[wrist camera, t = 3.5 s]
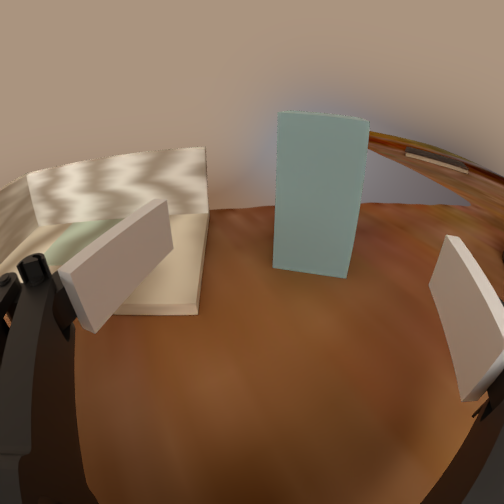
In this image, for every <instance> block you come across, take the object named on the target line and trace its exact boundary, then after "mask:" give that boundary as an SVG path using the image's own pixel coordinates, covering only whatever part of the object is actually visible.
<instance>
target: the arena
mask: <svg viewBox="0 0 504 504" xmlns="http://www.w3.org/2000/svg"><path fill="white" fill-rule="evenodd" d="M207 185H208V184H207V164H206V147H193V148H180V149H168V150H158V151H148V152H139V153H131V154H124V155H117V156H110V157H104V158H98V159H92V160H86V161H81V162H76V163H71V164H66V165H61V166H56V167H52V168H47V169H43V170H39V171H35V172H30V173H26V174H24V175H23V176H21V177H19V178H18V179H15V180H14V181H12V182H10V183H9V184H7V185H5V186H4V187H2V188H1V189H0V277H1V276H2V275H3V274H5V273H10V272H15V273H16V274H17V276H18V278H19V281H20V283H23V281H22V279H21V276H20V274H19V271H18V269H17V267H16V266H17V264H18V263H19V262H20V261H21V260H22V259H23V258H25V257H27V256H29V255H31V254H34V253H43V254H44V255H45V258H46V261H47V264H48V266H49V269H50V272H51V274H53V273H54V272H56V271H57V269H59V268H60V267H61V266H62V265H63V264H65V263H66V262H67V261H68V260H70V259H71V258H72V257H73V256H75V255H76V254H77V253H79V252H80V251H81V250H82V249H84V248H85V247H86V246H88V245H89V244H90V243H92V242H93V241H94V240H96V239H97V238H98V237H100V236H101V235H102V234H104V233H105V232H106V231H108V230H109V229H111V228H112V227H113V226H115V225H116V224H118V223H119V222H120V221H122V220H123V219H125V218H126V217H128V216H129V215H131V214H132V213H133V212H135V211H136V210H138V209H139V208H141V207H142V206H144V205H145V204H147V203H148V202H150V201H151V200H153V199H167V203H168V211H169V219H170V226H171V234H172V241H173V247H174V249H173V250H172V251H171V252H170V253H169V254H168V255H167V256H166V257H165V258H164V259H163V260H162V261H161V262H160V263H159V264H158V265H157V266H156V267H155V268H154V270H153V271H152V272H151V273H150V274H149V275H148V276H147V277H146V278H145V279H144V280H143V281H142V282H141V283H140V285H139V286H138V287H137V288H136V289H135V290H134V291H133V292H132V293H131V294H130V295H129V297H128V298H127V299H126V300H125V301H124V302H123V303H122V304H121V305H120V306H119V308H118V309H117V310H116V311H115V312H114V313H113V314H116V315H198V309H199V299H200V290H201V281H202V272H203V263H204V255H205V247H206V240H207V232H208V225H209V217H210V213H209V201H208V186H207Z"/></svg>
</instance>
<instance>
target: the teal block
mask: <svg viewBox="0 0 504 504" xmlns="http://www.w3.org/2000/svg"><path fill="white" fill-rule="evenodd" d="M369 127H370V122H369V121H367V120H364V119H362V118H359V117H352V116H344V115H336V114H327V113H317V112H305V111H284V112H278V130H277V170H276V199H275V224H274V247H273V268H278V269H284V270H291V271H298V272H304V273H311V274H318V275H325V276H332V277H339V278H346V277H347V273H348V268H349V263H350V259H351V254H352V249H353V244H354V238H355V233H356V227H357V222H358V216H359V210H360V203H361V197H362V190H363V182H364V175H365V167H366V158H367V149H368V138H369Z"/></svg>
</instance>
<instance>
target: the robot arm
mask: <svg viewBox="0 0 504 504" xmlns="http://www.w3.org/2000/svg"><path fill="white" fill-rule="evenodd" d="M173 249H174V247H173V241H172V234H171V226H170V219H169V211H168V203H167V199H153V200H151V201H150V202H148V203H147V204H145V205H144V206H142V207H141V208H139V209H138V210H136V211H135V212H133V213H132V214H131V215H129V216H128V217H126V218H125V219H123V220H122V221H120V222H119V223H118V224H116V225H115V226H113V227H112V228H111V229H109V230H108V231H106V232H105V233H104V234H102V235H101V236H100V237H98V238H97V239H96V240H94V241H93V242H92V243H90V244H89V245H88V246H86V247H85V248H84V249H82V250H81V251H80V252H79V253H77V254H76V255H75V256H73V257H72V258H71V259H70V260H68V261H67V262H66V263H65V264H63V265H62V266H61V267H60V268H59V269H57V271H56V272H54V273H53V274H51V272H50V269H49V266H48V264H47V261H46V258H45V255H44V254H43V253H34V254H31V255H29V256H27V257H25V258H23V259H22V260H21V261H20V262H19V263H18V264H17V266H16V267H17V269H18V271H19V274H20V276H21V279H22V281H23V283H20V281H19V278H18V276H17V274H16V273H15V272H10V273H5V274H3V275H2V276H1V277H0V504H98V502H97V500H96V498H95V496H94V495H93V494H92V492H91V491H90V490H89V488H88V486H87V483H86V479H85V475H84V469H83V464H82V458H81V451H80V445H79V437H78V428H77V418H76V405H75V383H74V348H75V326H74V324H73V321H74V320H75V318H76V317H77V318H78V320H79V322H80V324H81V326H82V328H83V329H85V330H88V331H90V332H92V333H94V334H96V333H97V332H98V330H99V329H100V328H101V327H102V326H103V325H104V324H105V322H106V321H107V320H108V319H109V318H110V317H111V316H112V314H113V313H114V312H115V311H116V310H117V309H118V308H119V306H120V305H121V304H122V303H123V302H124V301H125V300H126V299H127V298H128V297H129V295H130V294H131V293H132V292H133V291H134V290H135V289H136V288H137V287H138V286H139V285H140V283H141V282H142V281H143V280H144V279H145V278H146V277H147V276H148V275H149V274H150V273H151V272H152V271H153V270H154V268H155V267H156V266H157V265H158V264H159V263H160V262H161V261H162V260H163V259H164V258H165V257H166V256H167V255H168V254H169V253H170V252H171V251H172V250H173ZM503 261H504V252H503ZM429 288H430V291H431V293H432V296H433V299H434V302H435V305H436V307H437V310H438V313H439V316H440V320H441V323H442V326H443V329H444V332H445V336H446V339H447V343H448V346H449V350H450V354H451V357H452V361H453V365H454V370H455V374H456V378H457V383H458V388H459V393H460V398H461V402H467V401H477V400H478V399H479V398H480V397H481V396H482V395H483V394H484V393H485V392H486V391H487V392H488V396H489V398H488V399H487V400H486V402H485V403H484V404H483V405H482V406H481V407H480V408H479V409H478V410H477V411H476V412H475V413H474V414H473V415H472V417H473V418H474V417H475V416H476V415H477V414H478V416H477V418H476V420H475V422H474V424H473V426H472V428H471V430H470V432H469V433H468V435H467V437H466V439H465V440H464V442H463V444H462V446H461V447H460V449H459V450H458V452H457V454H456V455H455V457H454V458H453V460H452V462H451V463H450V465H449V466H448V468H447V469H446V470H445V472H444V473H443V475H442V476H441V478H440V479H439V480H438V482H437V483H436V484H435V486H434V487H433V488H432V490H431V491H430V492H429V493H428V495H427V496H426V497H425V498H424V500H423V501H422V502H421V503H420V504H504V302H503V301H502V300H501V299H500V298H499V297H498V296H497V294H496V292H495V291H494V289H493V287H492V286H491V284H490V282H489V281H488V279H487V277H486V276H485V274H484V273H483V271H482V269H481V268H480V266H479V265H478V263H477V262H476V260H475V259H474V257H473V256H472V254H471V253H470V252H469V250H468V249H467V247H466V246H465V244H464V243H463V242H462V240H461V239H460V238H459V237H456V236H451V235H446V236H445V239H444V242H443V246H442V249H441V252H440V255H439V258H438V261H437V263H436V266H435V269H434V272H433V275H432V277H431V280H430V282H429ZM5 314H7V315H8V317H9V319H10V321H11V322H12V323H11V326H10V328H9V327H8V325H7V324H6V322H5V320H4V319H3V317H4V316H5Z"/></svg>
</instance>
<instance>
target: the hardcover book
mask: <svg viewBox="0 0 504 504" xmlns="http://www.w3.org/2000/svg"><path fill="white" fill-rule="evenodd" d="M405 152H406V156H408V157H412V158H415V159H419V160H423V161H427V162H430V163H434V164H437V165H441V166H444V167H447V168H451V169H454V170H457V171H460V172H463V173H466V174H467V173H468V170H469V169H468V168H467V167H466V166H465V165H464V164H463V163H462V162H460V161H457V160H454V159H451V158H447V157H444V156H441V155H437V154H434V153H430V152H426V151H423V150H419V149H415V148H411V147H406V150H405Z"/></svg>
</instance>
